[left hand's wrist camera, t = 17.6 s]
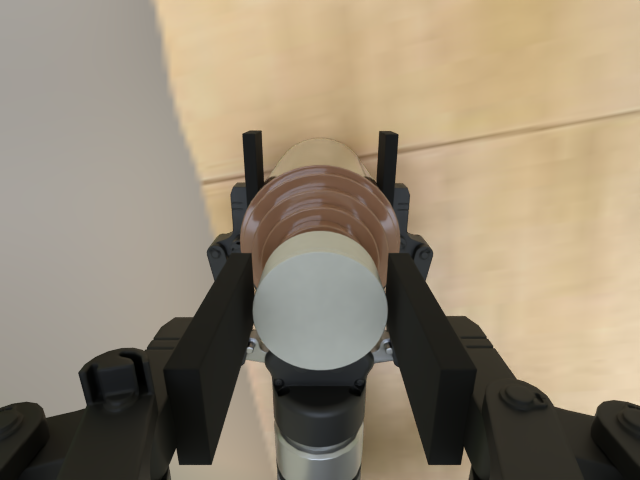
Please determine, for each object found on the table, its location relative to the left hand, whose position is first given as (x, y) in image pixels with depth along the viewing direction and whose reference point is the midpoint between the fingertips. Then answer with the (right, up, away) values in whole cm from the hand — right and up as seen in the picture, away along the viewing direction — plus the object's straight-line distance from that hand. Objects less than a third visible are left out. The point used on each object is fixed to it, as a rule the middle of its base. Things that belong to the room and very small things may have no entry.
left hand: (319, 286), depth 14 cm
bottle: (0, +6, +17) cm, 18 cm away
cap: (0, -1, -2) cm, 2 cm away
